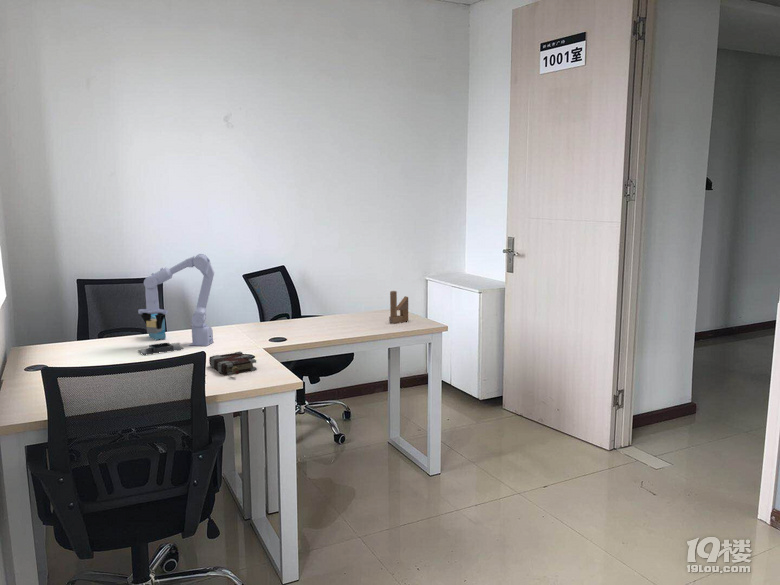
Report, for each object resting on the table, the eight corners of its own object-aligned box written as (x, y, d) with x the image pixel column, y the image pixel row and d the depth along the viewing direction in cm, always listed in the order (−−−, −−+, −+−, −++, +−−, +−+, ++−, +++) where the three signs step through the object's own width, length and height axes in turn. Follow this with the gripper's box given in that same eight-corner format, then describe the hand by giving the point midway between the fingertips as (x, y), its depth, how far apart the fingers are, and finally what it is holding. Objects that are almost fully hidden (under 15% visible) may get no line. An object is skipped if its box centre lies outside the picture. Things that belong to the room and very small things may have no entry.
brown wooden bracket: (408, 321, 363) (408, 290, 360) (392, 323, 357) (392, 292, 355) (405, 320, 366) (404, 289, 363) (389, 322, 361) (388, 291, 358)
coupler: (162, 331, 313) (161, 319, 312) (156, 333, 308) (155, 321, 307) (152, 330, 314) (151, 318, 313) (146, 333, 309) (146, 320, 308)
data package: (166, 339, 326) (164, 316, 324) (157, 340, 323) (155, 317, 322) (157, 335, 335) (155, 313, 333) (148, 336, 333) (147, 314, 331)
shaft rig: (177, 345, 313) (177, 340, 312) (183, 349, 305) (183, 344, 305) (138, 351, 302) (137, 346, 302) (143, 355, 295) (142, 350, 294)
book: (241, 361, 284) (240, 350, 283) (264, 374, 264) (263, 362, 263) (208, 367, 276) (208, 355, 275) (229, 380, 255) (228, 368, 255)
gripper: (133, 302, 306) (136, 329, 308) (161, 302, 303) (163, 330, 305) (142, 299, 313) (144, 326, 315) (169, 300, 310) (171, 327, 312)
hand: (154, 328), depth 311 cm, fingers closed on coupler, 5 cm apart
